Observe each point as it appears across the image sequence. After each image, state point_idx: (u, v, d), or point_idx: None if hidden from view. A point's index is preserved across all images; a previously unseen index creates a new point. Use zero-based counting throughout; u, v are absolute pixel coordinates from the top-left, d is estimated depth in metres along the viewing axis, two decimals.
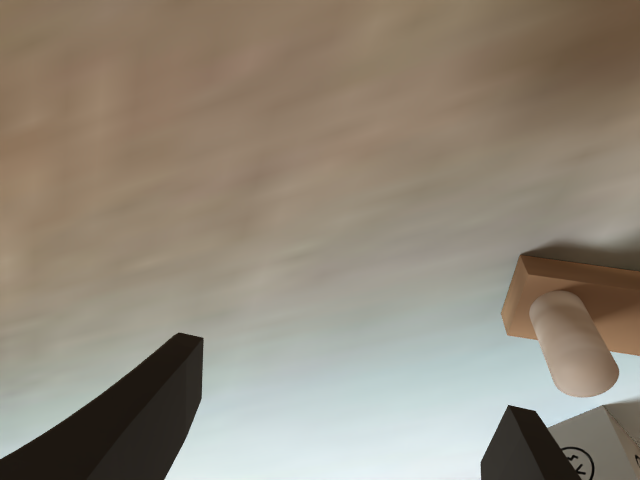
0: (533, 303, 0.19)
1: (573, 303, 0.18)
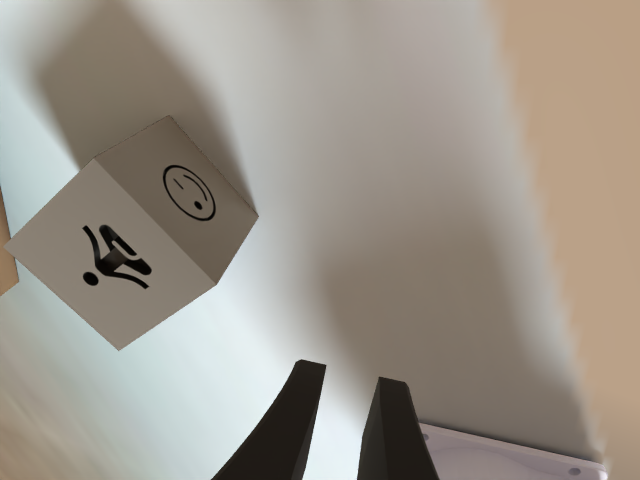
0: None
1: None
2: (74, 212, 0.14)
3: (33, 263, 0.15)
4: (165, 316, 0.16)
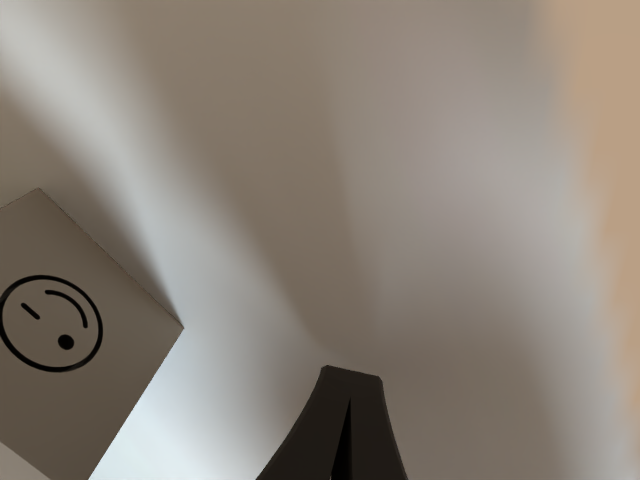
0: None
1: None
2: None
3: None
4: None
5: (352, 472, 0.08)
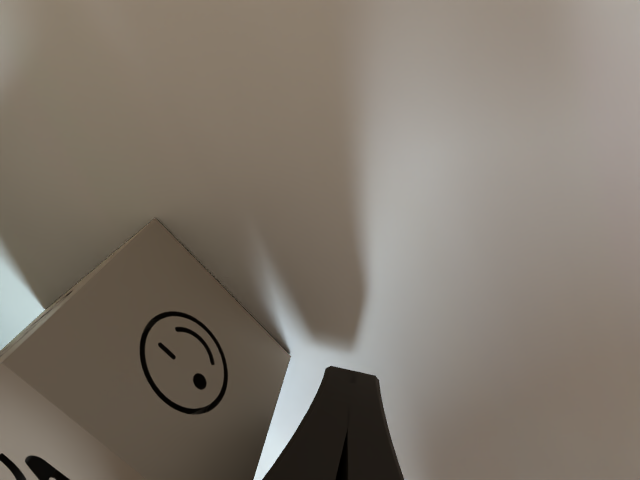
0: None
1: None
2: None
3: None
4: None
5: (347, 471, 0.08)
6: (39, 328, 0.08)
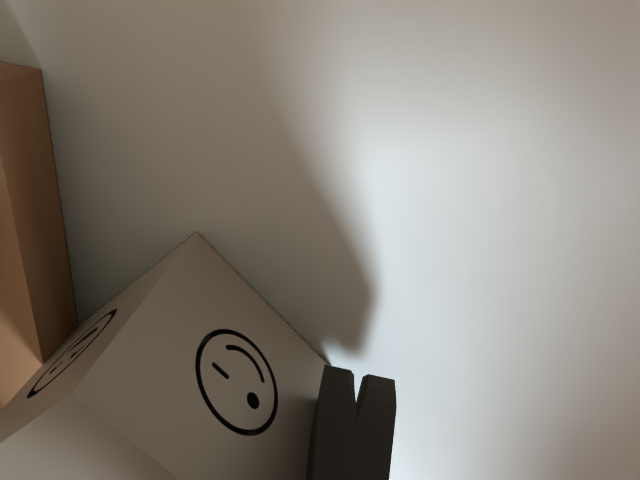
0: None
1: None
2: (40, 465, 0.08)
3: None
4: None
5: (314, 463, 0.08)
6: (102, 355, 0.08)
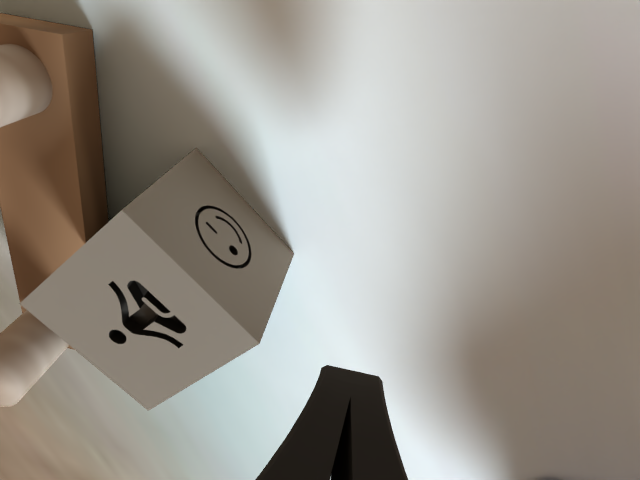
0: None
1: None
2: (99, 267, 0.13)
3: (53, 321, 0.14)
4: (201, 375, 0.14)
5: (352, 472, 0.08)
6: (138, 197, 0.12)
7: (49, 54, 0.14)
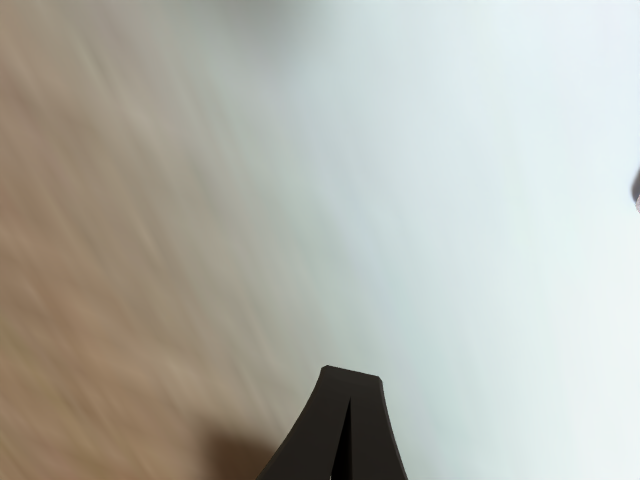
0: None
1: None
2: None
3: None
4: None
5: (352, 472, 0.08)
6: None
7: None
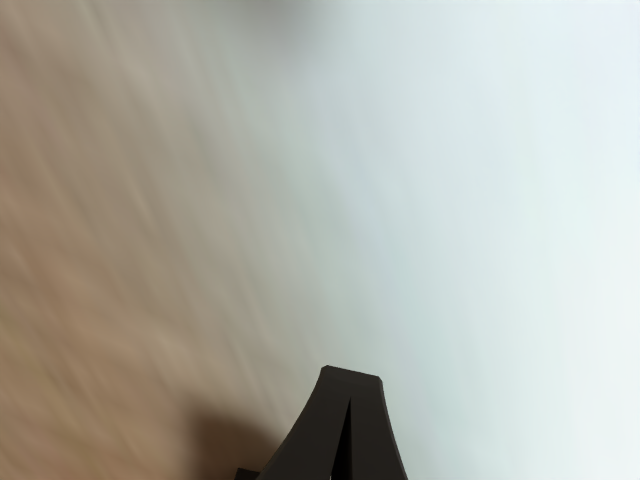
0: None
1: None
2: None
3: None
4: None
5: (352, 472, 0.08)
6: None
7: None
